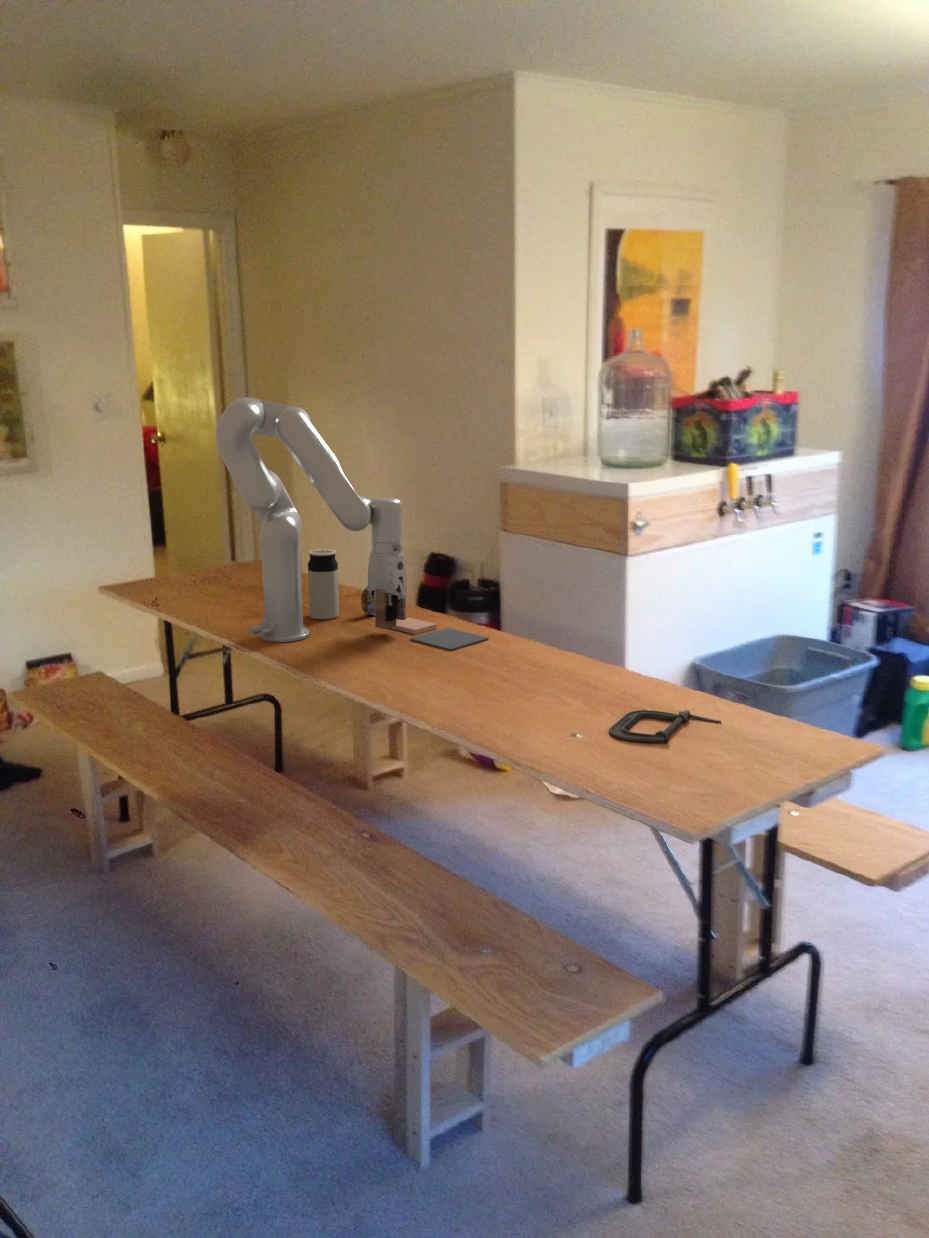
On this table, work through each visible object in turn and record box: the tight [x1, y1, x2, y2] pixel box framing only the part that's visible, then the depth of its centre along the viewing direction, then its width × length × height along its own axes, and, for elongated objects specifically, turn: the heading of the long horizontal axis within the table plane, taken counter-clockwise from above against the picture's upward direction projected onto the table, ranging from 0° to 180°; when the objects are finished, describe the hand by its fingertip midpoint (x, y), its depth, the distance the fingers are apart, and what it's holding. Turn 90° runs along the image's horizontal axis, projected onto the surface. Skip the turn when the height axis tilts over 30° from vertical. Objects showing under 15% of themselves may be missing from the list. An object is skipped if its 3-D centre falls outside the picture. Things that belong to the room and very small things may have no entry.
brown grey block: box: [375, 589, 407, 630], centre depth 272 cm, size 5×8×10 cm, turn 49°
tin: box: [360, 586, 376, 617], centre depth 294 cm, size 15×3×8 cm, turn 143°
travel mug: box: [307, 548, 340, 621], centre depth 288 cm, size 8×8×18 cm
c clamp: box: [608, 709, 722, 745], centre depth 207 cm, size 20×17×3 cm
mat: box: [409, 627, 490, 652], centre depth 268 cm, size 14×14×1 cm
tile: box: [390, 617, 438, 635], centre depth 279 cm, size 2×10×8 cm
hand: (386, 618), depth 272 cm, fingers closed on brown grey block, 3 cm apart
